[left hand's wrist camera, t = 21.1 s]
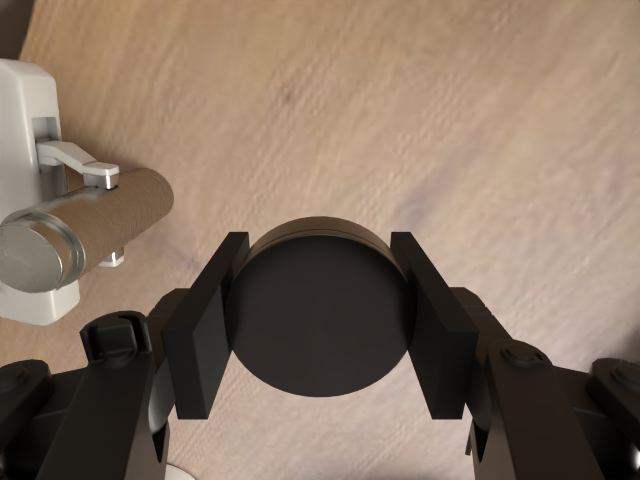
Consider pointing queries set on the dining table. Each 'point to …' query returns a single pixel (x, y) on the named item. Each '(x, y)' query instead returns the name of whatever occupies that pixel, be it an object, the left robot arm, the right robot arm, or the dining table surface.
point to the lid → (320, 308)
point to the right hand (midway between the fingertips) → (117, 217)
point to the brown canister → (78, 230)
